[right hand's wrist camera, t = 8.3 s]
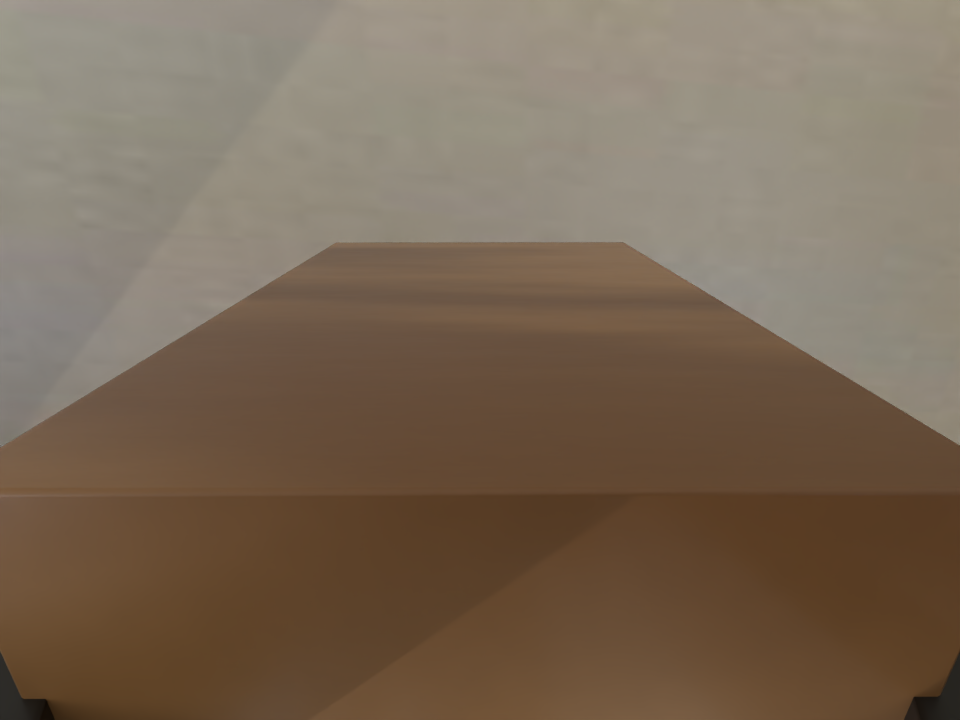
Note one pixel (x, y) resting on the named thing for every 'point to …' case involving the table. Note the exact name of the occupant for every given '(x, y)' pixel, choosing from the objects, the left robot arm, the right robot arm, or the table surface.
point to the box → (480, 509)
